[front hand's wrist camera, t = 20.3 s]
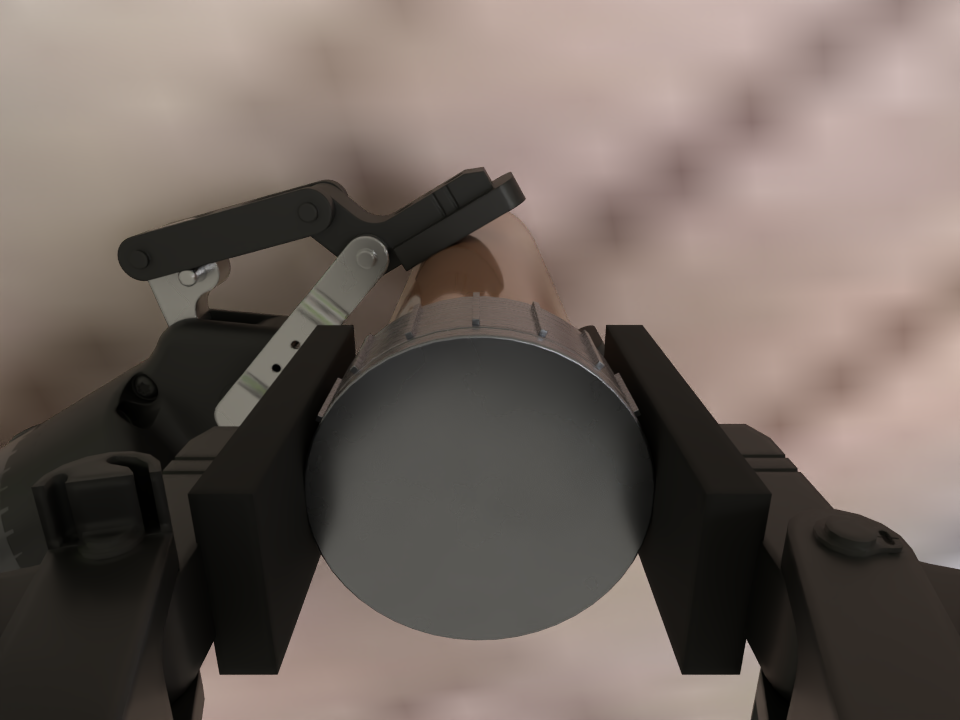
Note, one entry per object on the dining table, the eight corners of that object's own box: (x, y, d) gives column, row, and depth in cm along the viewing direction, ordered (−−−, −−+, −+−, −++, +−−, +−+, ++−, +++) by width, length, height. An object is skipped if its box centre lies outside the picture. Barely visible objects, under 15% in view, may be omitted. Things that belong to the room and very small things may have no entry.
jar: (442, 335, 27) (395, 614, 12) (403, 225, 25) (292, 387, 10) (552, 301, 26) (649, 549, 11) (519, 188, 25) (580, 300, 10)
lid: (265, 431, 12) (222, 495, 10) (485, 222, 11) (486, 246, 9) (473, 608, 13) (471, 695, 11) (691, 441, 12) (732, 507, 10)
